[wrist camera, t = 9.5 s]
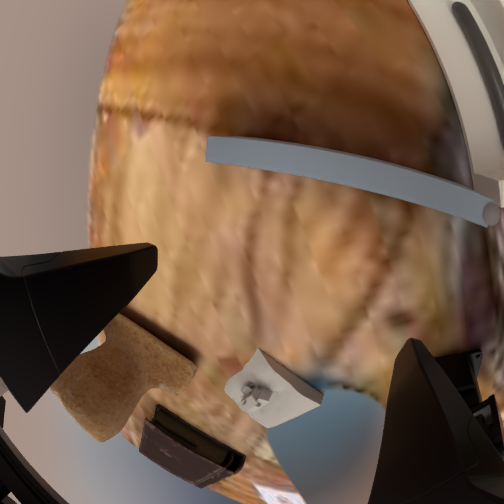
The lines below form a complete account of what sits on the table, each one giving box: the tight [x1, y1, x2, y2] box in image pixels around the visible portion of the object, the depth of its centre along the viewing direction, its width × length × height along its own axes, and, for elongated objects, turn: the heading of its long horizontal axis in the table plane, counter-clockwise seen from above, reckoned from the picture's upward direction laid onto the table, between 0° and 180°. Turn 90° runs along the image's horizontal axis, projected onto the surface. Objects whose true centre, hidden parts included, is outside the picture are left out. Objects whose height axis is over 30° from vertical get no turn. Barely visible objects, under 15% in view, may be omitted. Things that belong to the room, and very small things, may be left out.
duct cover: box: [206, 136, 500, 228], centre depth 14 cm, size 17×2×5 cm, turn 84°
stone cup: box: [50, 313, 198, 442], centre depth 27 cm, size 15×12×15 cm
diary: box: [139, 405, 246, 488], centre depth 43 cm, size 19×25×5 cm
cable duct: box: [407, 0, 504, 208], centre depth 8 cm, size 18×9×5 cm, turn 19°
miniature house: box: [225, 348, 325, 428], centre depth 27 cm, size 12×11×4 cm
